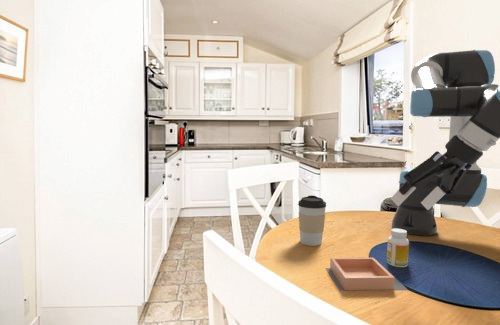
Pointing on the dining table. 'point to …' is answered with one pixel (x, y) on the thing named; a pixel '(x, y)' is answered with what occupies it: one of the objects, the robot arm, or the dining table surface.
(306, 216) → the coffee cup
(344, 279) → the dish
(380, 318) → the dining table surface
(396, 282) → the mat
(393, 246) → the supplement bottle
